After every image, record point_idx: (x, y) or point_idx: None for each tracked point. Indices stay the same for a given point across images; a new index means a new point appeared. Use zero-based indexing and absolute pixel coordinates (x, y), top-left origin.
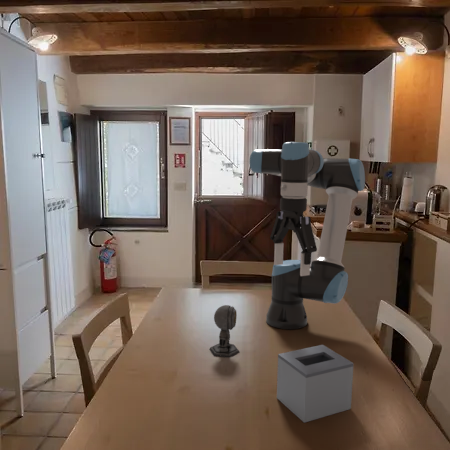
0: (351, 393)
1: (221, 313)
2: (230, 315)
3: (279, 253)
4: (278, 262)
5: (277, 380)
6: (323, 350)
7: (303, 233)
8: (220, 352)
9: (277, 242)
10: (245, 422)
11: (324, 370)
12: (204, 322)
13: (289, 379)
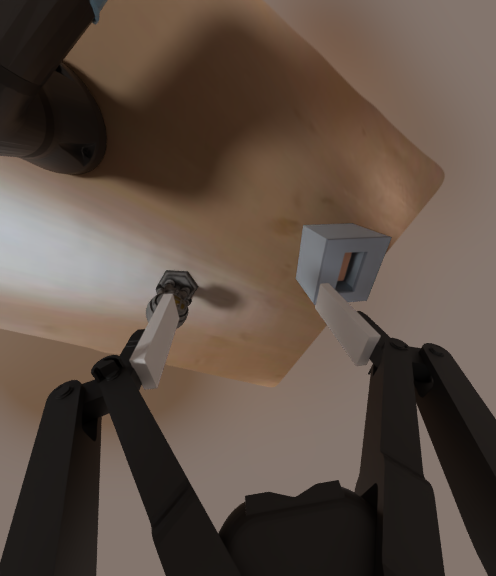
0: (363, 227)
1: (176, 328)
2: (183, 317)
3: (165, 335)
4: (175, 314)
5: (302, 287)
6: (341, 250)
7: (451, 476)
8: (188, 295)
9: (137, 384)
10: (310, 312)
11: (374, 279)
12: (63, 278)
13: None
